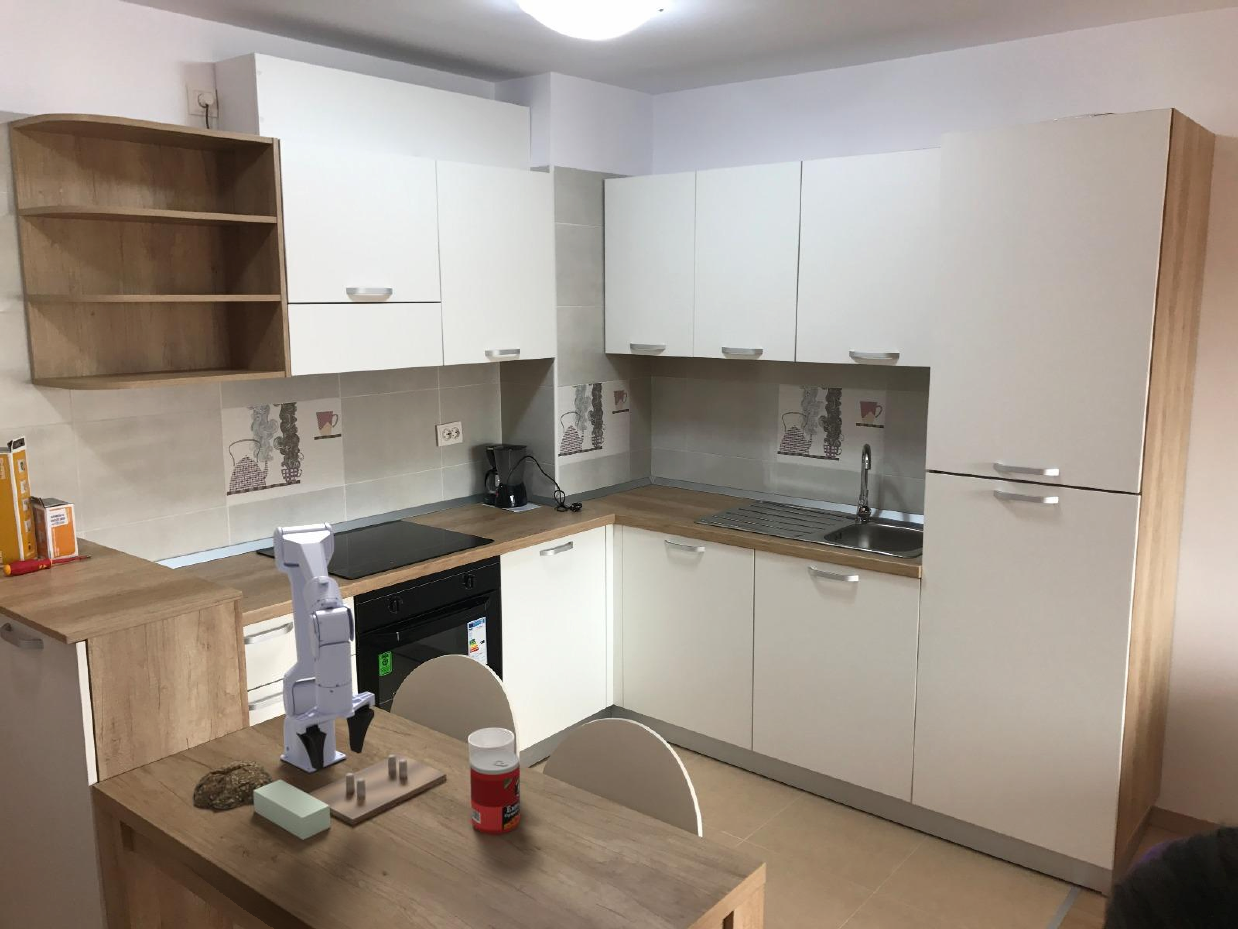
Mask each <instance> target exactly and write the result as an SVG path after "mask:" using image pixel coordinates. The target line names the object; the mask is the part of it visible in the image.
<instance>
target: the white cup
mask: <svg viewBox="0 0 1238 929" xmlns="http://www.w3.org/2000/svg"><path fill="white" fill-rule="evenodd" d="M467 744H468V757H469V759H468V760H469V764H470V763H471V758H472V757H473V756H474V755H476V754H477V753H480V752H483V751H487V750H506V751H510V752H512V753H515V734H514V732H512V731H511V730H509V729H506V728H502V727H487V728H485V727H484V728H481V729H477V730H475V731H473V732H472V733H470V734H469V735H468V738H467Z"/></svg>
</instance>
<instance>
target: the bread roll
mask: <svg viewBox="0 0 1238 929" xmlns="http://www.w3.org/2000/svg"><path fill="white" fill-rule="evenodd" d="M273 782H274V780H273V777H272V776H271V775H270V773H269V772H268V771H267V770H266V769H265V768H264V766H263V765H260V763H259V762H258V763H257V762H256V761H255V760H253V761H248V760H241V761H240V760H235V761H232V762H228V763H226V764H224V765H221V766H218V767H216V768H213V769H211V770H210V771H209V772H207V773H205V774H204V775H203V776H202V777H201V778H200V779H199V780H198V782H196V785H195V788H194V793H195V795H194V796H195V798H194V805H195V806H196V807H198V808H203V809H204V808H205V809H211V808H214V809H217V810H226V809H233V808H237V807H241V806H245V805H249V804H254V793H253V790H256V789H258V788H260V787H263V786H265V785H268V784H270V783H273Z"/></svg>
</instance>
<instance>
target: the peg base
mask: <svg viewBox="0 0 1238 929" xmlns="http://www.w3.org/2000/svg"><path fill="white" fill-rule="evenodd" d="M443 780H444V781H445V780H447V774H446V773H444V772H442V771H440V770H438V769H435V768H433V767H431V766H429V765H426V764H424V763H422V762H420V761H417V760H415V759H413V758H410V757H408V756H405V755H404V754H402V753H397V754H389V755H388V756H387V758H385V759H383V760H380V761H378V762H376V763H373V764H371V765H369V766H367V767H365V768H362V769H361V770H357V772H354V773H352V772H348V773H346V774H345V777H342V778H340V779H337V780H335V781H333V782H331V783H328V784H326V785H324V786H322V787H319V788H318V789H315V790H313V791H311V792H308V793H307V794H309V795H311V796H312V797H314V798H316V799H318V800H320V801H322V802H324V803H326V804H327V805H329V806H330V815H333V816H335V817H337V818H338V819H340V820H341V821H342V820H343V821H345V822H346V821H347V823H349V825H351V826H354V825H357V824H359V823H360V821H361V822H363V821H364V819H365V820H367V819H369V818H371V817H373V816H374V815H373V814H375V815H377V814H378V812H379V811H381V812H383V811H386V810H387V809H389V808H391V807H393V806H395V805H398V804H400V803H401V802H403V801H406V800H407V799H409V798H411V797H413V796H415V795H417V794H420V793H422V792H423V791H422V790H424V791H425V789H426V790H427V789H429V787H430V788H431V787H433V786H436V785H437V784H440V783H442V782H443ZM435 784H436V785H435ZM421 791H422V792H421ZM419 792H420V793H419ZM414 794H415V795H414ZM408 797H409V798H408ZM406 798H407V799H406ZM400 801H401V802H400ZM394 804H395V805H394ZM392 805H393V806H392ZM390 806H391V807H390ZM386 808H387V809H386ZM376 813H377V814H376ZM379 813H380V812H379ZM372 815H373V816H372ZM366 818H367V819H366ZM358 822H359V823H358Z"/></svg>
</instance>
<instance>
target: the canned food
mask: <svg viewBox="0 0 1238 929" xmlns="http://www.w3.org/2000/svg"><path fill="white" fill-rule="evenodd" d="M520 770H521V767H520V757H519V756H518V755H517V754H516V753H515V752H514V753H512V752H510V751H506V750H487V751H483V752H480V753H477V754H476V755H474V756H473V757H472V758H471V763H470V762H469V772H470V773H469V774H470V805H471V806H470V812H471V817H470V818H471V822H472V826H473V828H474V829H476V830H477V831H478V832H481V833H483V834H487V835H501V834H506V833H509V832H512V831H514V830H515V829H516V828H517V827H518V825H519V823H520V818H521V780H520V778H521V777H520V776H521V775H520V774H521V772H520Z"/></svg>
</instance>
